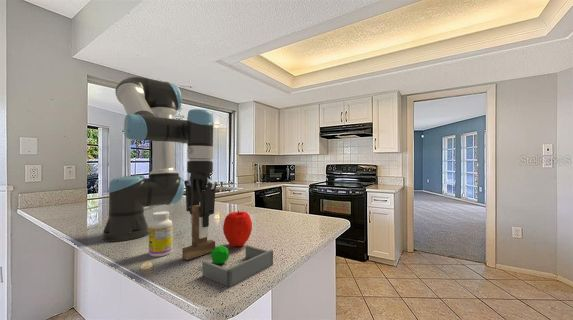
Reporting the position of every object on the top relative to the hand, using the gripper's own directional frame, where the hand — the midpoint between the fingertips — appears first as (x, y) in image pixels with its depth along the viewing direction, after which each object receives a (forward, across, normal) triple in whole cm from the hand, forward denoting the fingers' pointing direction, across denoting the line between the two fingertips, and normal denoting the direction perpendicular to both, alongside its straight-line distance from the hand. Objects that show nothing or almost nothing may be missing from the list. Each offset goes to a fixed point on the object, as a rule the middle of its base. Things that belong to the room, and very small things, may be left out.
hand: (199, 236), depth 78 cm
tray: (+6, +18, 0) cm, 19 cm away
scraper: (+6, 0, 0) cm, 6 cm away
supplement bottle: (+6, -11, -6) cm, 14 cm away
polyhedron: (+6, +10, 0) cm, 12 cm away
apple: (+6, +3, +13) cm, 15 cm away
